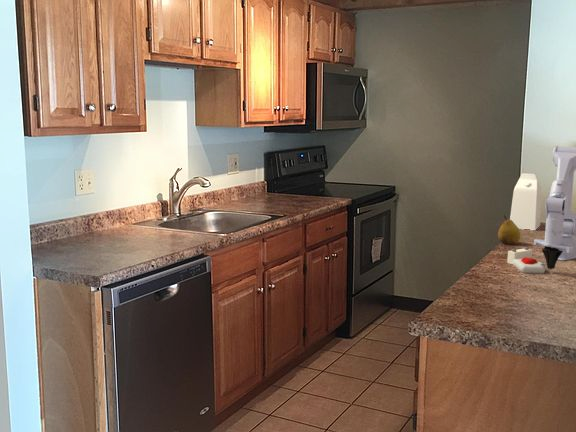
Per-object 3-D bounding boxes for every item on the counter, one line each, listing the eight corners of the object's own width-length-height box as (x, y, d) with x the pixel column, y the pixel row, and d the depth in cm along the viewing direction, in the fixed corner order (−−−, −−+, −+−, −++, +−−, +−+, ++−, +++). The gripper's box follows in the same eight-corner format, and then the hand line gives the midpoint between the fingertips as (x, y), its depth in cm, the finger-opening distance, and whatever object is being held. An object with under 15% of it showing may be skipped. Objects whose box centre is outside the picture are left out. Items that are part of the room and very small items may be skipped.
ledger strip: (525, 259, 246) (526, 246, 245) (531, 261, 243) (532, 247, 242) (507, 262, 241) (508, 249, 240) (513, 264, 238) (514, 250, 237)
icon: (551, 263, 225) (522, 262, 226) (550, 274, 226) (521, 274, 226) (539, 254, 237) (512, 254, 238) (538, 266, 238) (511, 265, 238)
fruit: (524, 244, 272) (526, 216, 270) (506, 246, 268) (508, 218, 266) (510, 240, 280) (512, 213, 277) (493, 242, 276) (495, 214, 274)
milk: (539, 226, 311) (544, 173, 307) (534, 230, 302) (539, 175, 297) (514, 224, 318) (518, 171, 313) (508, 227, 308) (512, 173, 303)
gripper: (529, 228, 230) (526, 265, 232) (564, 235, 217) (561, 274, 220) (542, 226, 233) (539, 262, 236) (577, 233, 221) (574, 272, 223)
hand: (550, 268), depth 228 cm, fingers closed
